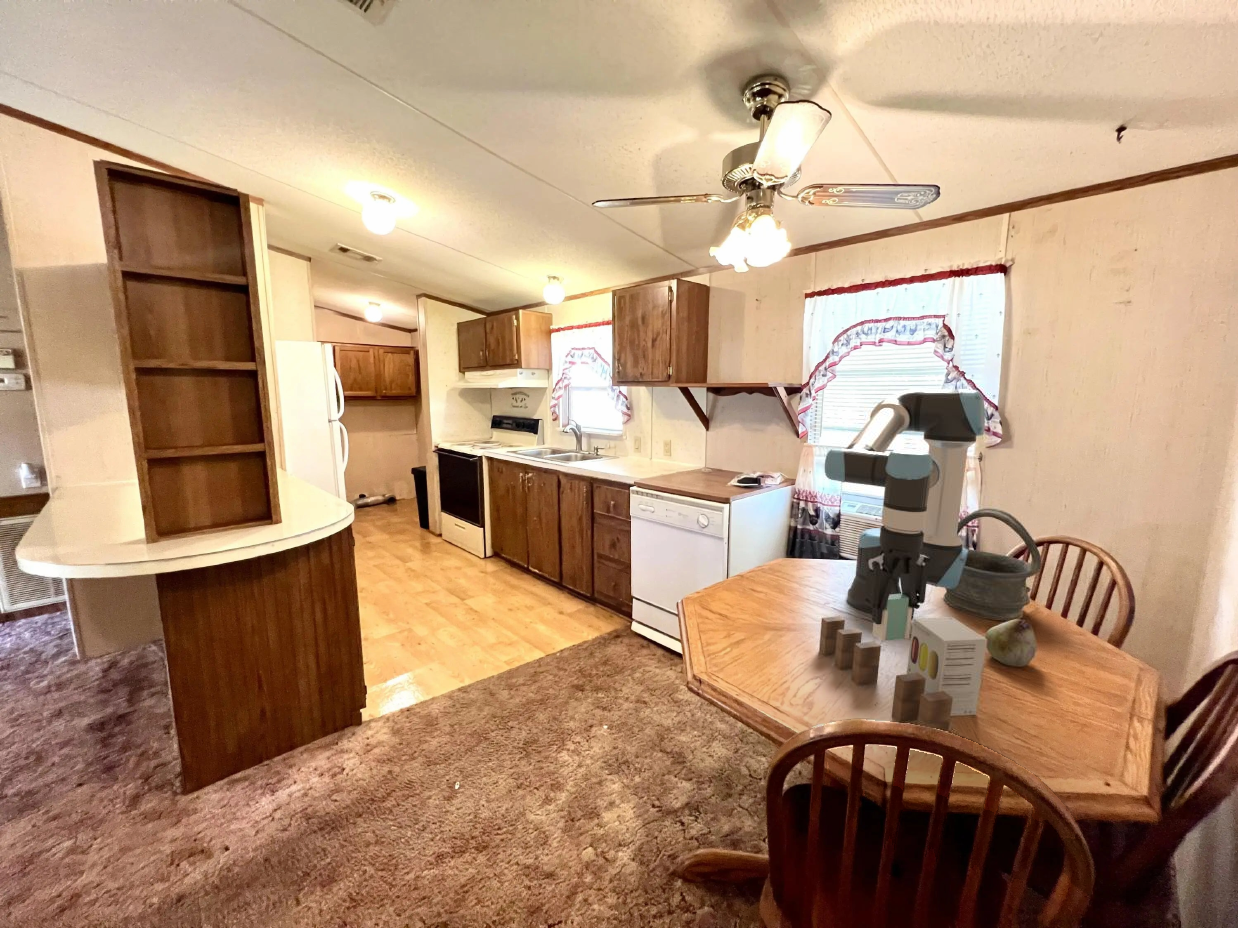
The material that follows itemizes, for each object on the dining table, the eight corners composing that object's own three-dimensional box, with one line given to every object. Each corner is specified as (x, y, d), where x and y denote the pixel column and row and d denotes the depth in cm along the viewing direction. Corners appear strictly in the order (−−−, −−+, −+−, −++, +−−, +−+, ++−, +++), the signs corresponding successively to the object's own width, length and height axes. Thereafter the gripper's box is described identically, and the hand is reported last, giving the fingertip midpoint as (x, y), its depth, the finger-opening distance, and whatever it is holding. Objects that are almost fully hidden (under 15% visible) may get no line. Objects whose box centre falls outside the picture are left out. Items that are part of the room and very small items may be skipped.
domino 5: (937, 733, 91) (943, 690, 90) (946, 741, 89) (952, 697, 88) (915, 737, 90) (920, 694, 89) (924, 744, 88) (929, 701, 87)
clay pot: (966, 586, 159) (978, 498, 154) (1049, 617, 137) (1066, 517, 132) (919, 596, 151) (929, 504, 146) (999, 631, 129) (1014, 524, 124)
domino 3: (870, 677, 109) (874, 641, 107) (877, 682, 107) (881, 645, 105) (851, 680, 108) (854, 643, 106) (857, 685, 106) (861, 648, 104)
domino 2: (852, 662, 114) (856, 627, 113) (858, 667, 113) (862, 632, 111) (834, 665, 113) (837, 629, 112) (839, 669, 112) (843, 634, 110)
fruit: (1019, 677, 109) (1027, 628, 107) (973, 656, 117) (980, 611, 115) (1041, 665, 114) (1049, 618, 112) (995, 646, 122) (1002, 602, 120)
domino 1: (836, 649, 120) (839, 615, 119) (841, 653, 118) (845, 619, 117) (819, 651, 119) (821, 617, 118) (824, 655, 117) (826, 621, 116)
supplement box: (903, 688, 105) (911, 616, 102) (942, 686, 106) (951, 615, 103) (935, 718, 96) (945, 640, 93) (978, 715, 96) (989, 638, 94)
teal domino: (896, 633, 101) (901, 593, 99) (904, 638, 99) (909, 597, 97) (876, 635, 100) (880, 595, 98) (883, 640, 98) (887, 599, 96)
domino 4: (912, 712, 97) (917, 672, 96) (920, 719, 95) (925, 678, 94) (891, 715, 96) (896, 675, 95) (899, 722, 94) (904, 681, 93)
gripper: (925, 520, 101) (913, 623, 104) (849, 525, 97) (840, 631, 101) (956, 531, 93) (942, 640, 97) (876, 536, 90) (865, 650, 94)
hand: (890, 635), depth 99 cm, fingers closed on teal domino, 5 cm apart
